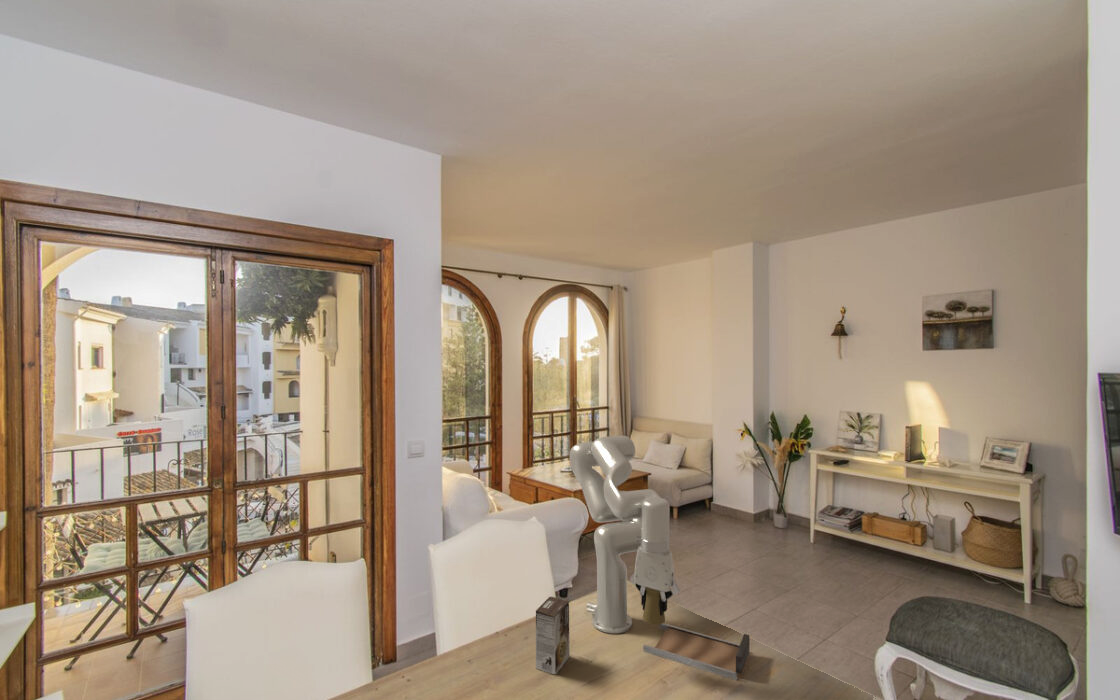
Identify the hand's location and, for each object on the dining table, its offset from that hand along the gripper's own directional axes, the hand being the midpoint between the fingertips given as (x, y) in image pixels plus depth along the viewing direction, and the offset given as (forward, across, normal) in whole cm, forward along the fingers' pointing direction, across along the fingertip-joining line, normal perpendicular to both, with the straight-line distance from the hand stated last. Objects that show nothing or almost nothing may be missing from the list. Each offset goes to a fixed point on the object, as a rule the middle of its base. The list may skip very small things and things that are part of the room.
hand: (654, 609), depth 138 cm
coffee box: (+17, -25, -12) cm, 32 cm away
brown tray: (+16, +10, +13) cm, 23 cm away
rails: (+16, +8, +13) cm, 22 cm away
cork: (+3, 0, 0) cm, 3 cm away
